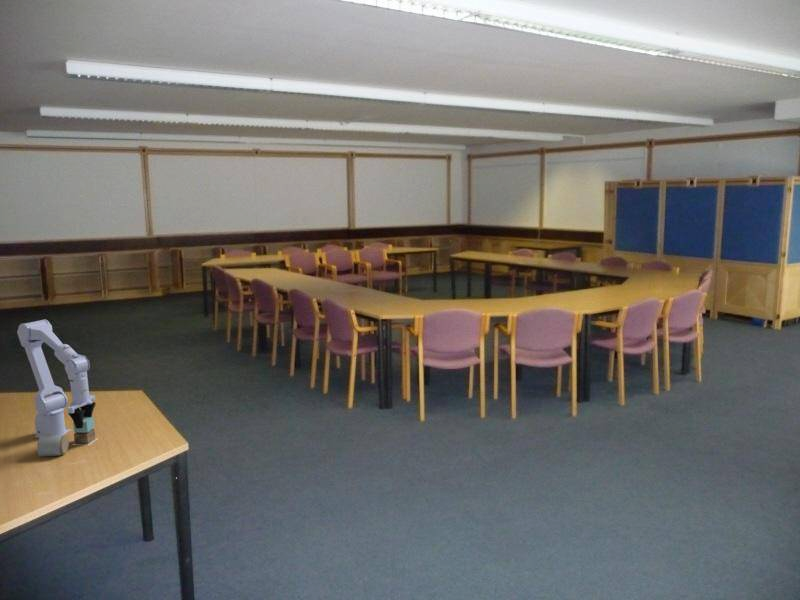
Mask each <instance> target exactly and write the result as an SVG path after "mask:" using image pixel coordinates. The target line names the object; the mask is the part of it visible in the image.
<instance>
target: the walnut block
mask: <svg viewBox="0 0 800 600" xmlns="http://www.w3.org/2000/svg"><path fill="white" fill-rule="evenodd" d="M95 438H96V432H95V428H93V429H92V430H91V431H89V432H88V433H81V432H74V434H73V440H74V443H75V444H89V443H91V442H92V441H93V440H95Z"/></svg>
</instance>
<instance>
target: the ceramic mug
mask: <svg viewBox="0 0 800 600" xmlns="http://www.w3.org/2000/svg"><path fill="white" fill-rule="evenodd" d="M69 441H70V440H69V437H68V436H67V435H66V434H64V435H52V434H43V435H41V436H40V438H38V441H37V446H36V447H37V448H36V449H37V454H38V456H39V457H42V458H43V457H58V456H59V457H60V456H64V455H65V454H66V453H67V452H68V449H69V443H70V442H69Z"/></svg>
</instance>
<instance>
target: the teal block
mask: <svg viewBox="0 0 800 600" xmlns="http://www.w3.org/2000/svg"><path fill="white" fill-rule="evenodd" d="M72 424H73V432H74V433H76V432H81V433H88V432H89V431H91V430H92V429H95V427H96V425H95V417H94V416H92V417H83V428H76V426H75V424H74V422H73V421H72Z"/></svg>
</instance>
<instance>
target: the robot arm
mask: <svg viewBox="0 0 800 600" xmlns="http://www.w3.org/2000/svg"><path fill="white" fill-rule="evenodd" d="M16 333H17V336H18V339H19V342H20V345H21V347H23V348H24V350H25V353H26V355H27V358H28V362H29V363H30V366H31V370H32V373H33V376H34V379H35V381H36V384H37V387H38V389H39V390H37V392H36V394H35V395H34V397H33V399H34V402H35V403H34V406H35V410H36V412H37V413H36V415H35V418H34V425H35V434H36V435H35V438H37V439H39V438H40V436H41V435H43V434H52V435H66V434H68V432H70V431H71V429H70V428H66V423H65V421H66V420H65V413H64V411H65V410H67V412H66V413H67V414H68V416H70V418H71V419H72V423H73V422H74V424H75V426H76V428H83V417H93V412H94V409H95V407H96V405H97V404H96V402H94V401H95V400H96V397H95V394H90V391H89V390H90V389H89V379H88V371H89V370H90V368H91V364H90V360H89V358H87V356H86V355H81V354H78V353H77V352H76V351H75V350H74V349H73V348H72V347H71V346H70V345H69V344H66V343H63V342H62V341H61V340H60V338H59V337H57V336H58V335H56V334H55V333H54V332H53V326H52V324H51V323H50V322H49V320H47V319H45V318H44V319H41V320H36V321H31V322H25V323H20V324H19V326H18V329H17V332H16ZM43 343H45V344H46V345H47V346H49V347H50V348H51V349H53V351H54V353H53V354H54V356H55V358H57V359H58V360H59V361H60V362H61V364H63V365H64V370H65V372H66V374H67V378H68V380H69V382H70V383H69V385H70V392H71V393H70V394H71V403H70V405H69V406H68V403H69V402H68V401H69V400H68V397H67V395H66V394H65V393H64V390H63V388H62V387H60V386H57V385H55V383H54V380H53V376H52V374H51V371H50V368H49V365H48V363H47V359H46V357H45V354H44V352H43V349H42V345H43ZM67 406H68V407H67ZM66 407H67V408H66ZM74 424H73V425H74Z"/></svg>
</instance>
